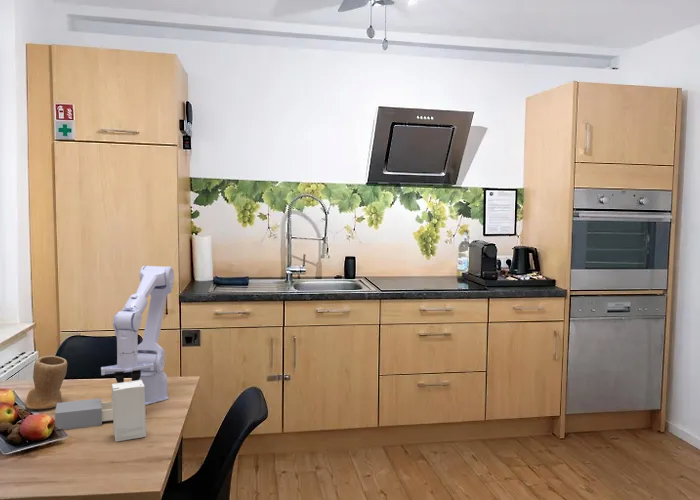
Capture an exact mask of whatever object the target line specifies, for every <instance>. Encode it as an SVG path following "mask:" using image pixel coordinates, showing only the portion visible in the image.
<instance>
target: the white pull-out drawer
mask: <svg viewBox="0 0 700 500" xmlns="http://www.w3.org/2000/svg"><path fill="white" fill-rule="evenodd" d="M101 404H102V422H109V421H113V403H112V401H105V402H104V401H101Z"/></svg>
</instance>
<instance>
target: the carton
mask: <svg viewBox="0 0 700 500" xmlns="http://www.w3.org/2000/svg"><path fill="white" fill-rule="evenodd" d="M101 403H102V398H92V399H83V400H72V401H63V402H62V401H61V402H60V403H57V405H56V407H55V411H54V420H55V421H54V423H55V424H54V426H55V427H60V428H62V429H63V430H62V431H64V430H65V431H66V430H73V429H81V428H89V427H98V426H99V427H100V426H102V425H103V424H102V423H103V421H102V404H101Z"/></svg>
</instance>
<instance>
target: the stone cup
mask: <svg viewBox="0 0 700 500" xmlns="http://www.w3.org/2000/svg"><path fill="white" fill-rule="evenodd" d="M67 369H68V361H67V359H65V358H63V357H60V356H57V355H44V356H40V357H38V358H37V359H36V360H35V362H34V364H33V371H32V379H33V383H34V388H32V389H30V390H29V391H28V393H27V396H26V400H25V407H26V408H27V409H29V410H30V409H31V410H46V409H51V408H56V405H57V403H61V402H62V391H61V387H62V384H63V382H64V379H65V378H66V375H67V371H68V370H67Z"/></svg>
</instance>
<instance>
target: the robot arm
mask: <svg viewBox="0 0 700 500" xmlns="http://www.w3.org/2000/svg"><path fill="white" fill-rule="evenodd" d="M174 281H175V273H174V268H173V267H172V266H170V265H168V266H164V265H163V266H159V265H144V264H143V266H142V267H141V268H140V269H139V285H138V287H137V290H136V291H135V293H133V294H131V295H130V296H129V297H128V299H127V301H126V303H125V305H124V306H123V308H122V309H121V310H120V311H118V312H116V313H114V317H113V320H112V321H113V322H112V327H113V329H114V335H115V337H116V357H117V358H116V364H114V365H107V366H101V367H100V372H101V373H100V375H101V376H105V375H110V374H111V375H112V374H114V378H115V380H116V383H123V382H125V377H124V373H131V381H136V380H142V382H143V384H144V386H145V406H147V405H151V404H154V403H159V402H162V401H165V400H166V401H167V400H169V398H170V397H169V396H168V376H167V374H166V372H165V371H164V370H165V369H164V368H165V365H166V364H165V363H166V357H165V356H166V351H165V349H164V348H163V347H162V346H161V345H160V344H159V340H160V334H161V333H160V332H161V329H162V322H163V318H164V311H165V307H166V302H167V296H168V295H169V294H172V290H173V288H174V287H173V286H174V283H175V282H174ZM149 296H150V300H149V306H148V297H149ZM147 306H148V310H147V314H146V315H147V316H146V320H145V327H144V332H143V337H142V341H141V342H140V343H139V344H138V342H139V341H138V331H139V329H140V328H141V325H142V320H143V314H144V312H145V310H146V307H147Z"/></svg>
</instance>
